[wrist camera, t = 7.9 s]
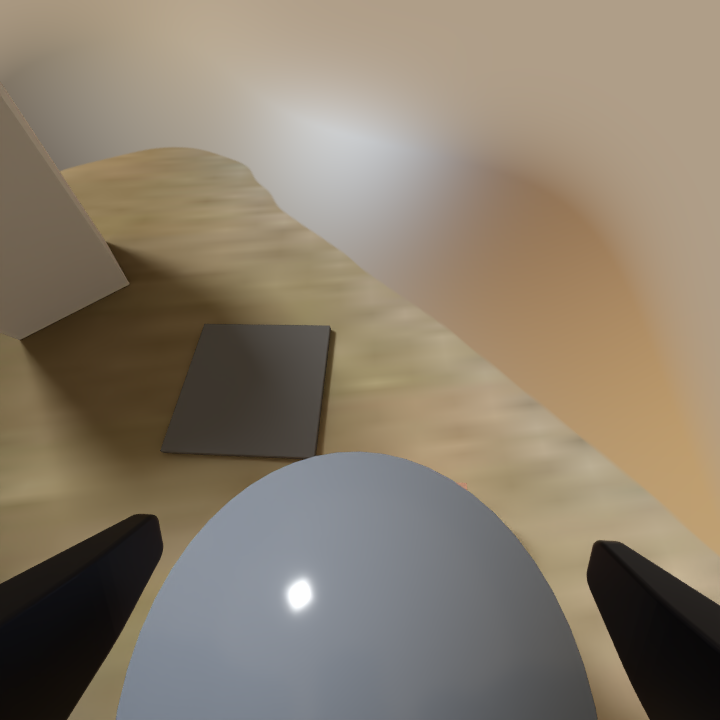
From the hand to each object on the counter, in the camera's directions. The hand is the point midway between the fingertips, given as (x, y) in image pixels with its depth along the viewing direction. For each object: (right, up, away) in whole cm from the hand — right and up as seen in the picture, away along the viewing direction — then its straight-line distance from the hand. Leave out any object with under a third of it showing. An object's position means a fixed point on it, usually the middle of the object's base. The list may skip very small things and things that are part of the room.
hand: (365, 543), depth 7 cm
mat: (-7, +2, +14) cm, 16 cm away
